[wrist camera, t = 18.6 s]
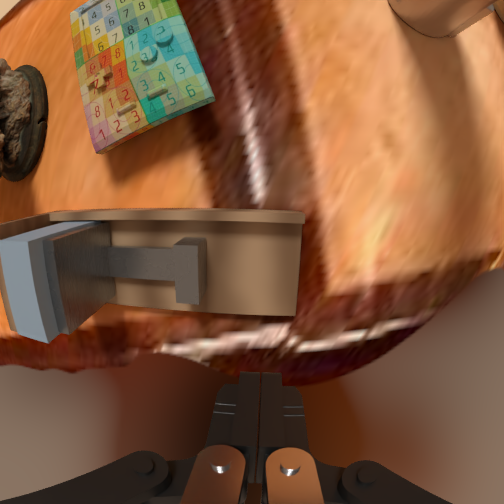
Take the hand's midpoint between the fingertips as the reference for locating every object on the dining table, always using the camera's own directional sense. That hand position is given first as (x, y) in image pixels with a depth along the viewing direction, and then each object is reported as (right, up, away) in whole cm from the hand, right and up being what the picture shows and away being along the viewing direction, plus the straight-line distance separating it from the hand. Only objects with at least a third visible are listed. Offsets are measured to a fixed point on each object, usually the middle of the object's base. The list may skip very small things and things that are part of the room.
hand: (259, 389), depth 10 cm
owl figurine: (-30, +22, +15) cm, 40 cm away
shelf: (-9, +5, +18) cm, 21 cm away
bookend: (-10, +4, +17) cm, 20 cm away
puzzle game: (-12, +26, +13) cm, 32 cm away
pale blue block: (-18, +5, +17) cm, 25 cm away
